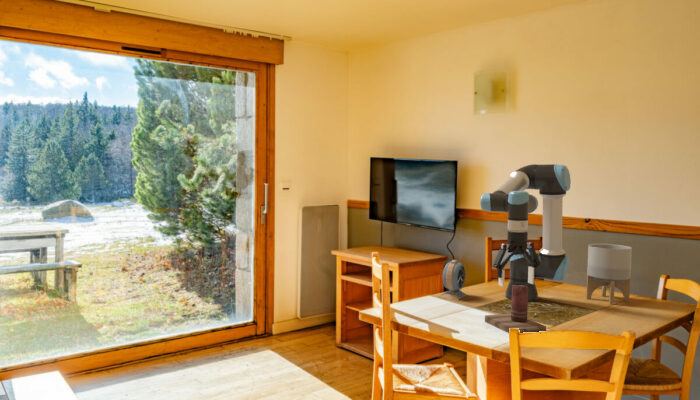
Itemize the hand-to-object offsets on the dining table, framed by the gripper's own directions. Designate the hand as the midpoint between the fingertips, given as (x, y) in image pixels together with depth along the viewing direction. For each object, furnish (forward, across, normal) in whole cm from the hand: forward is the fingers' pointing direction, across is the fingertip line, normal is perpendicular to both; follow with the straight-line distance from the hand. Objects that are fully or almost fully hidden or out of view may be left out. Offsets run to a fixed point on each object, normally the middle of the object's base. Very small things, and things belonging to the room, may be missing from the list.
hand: (516, 284), depth 214 cm
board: (+17, -1, -2) cm, 17 cm away
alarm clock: (+18, +2, +52) cm, 55 cm away
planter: (+19, +71, +26) cm, 78 cm away
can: (+14, +1, -1) cm, 14 cm away
